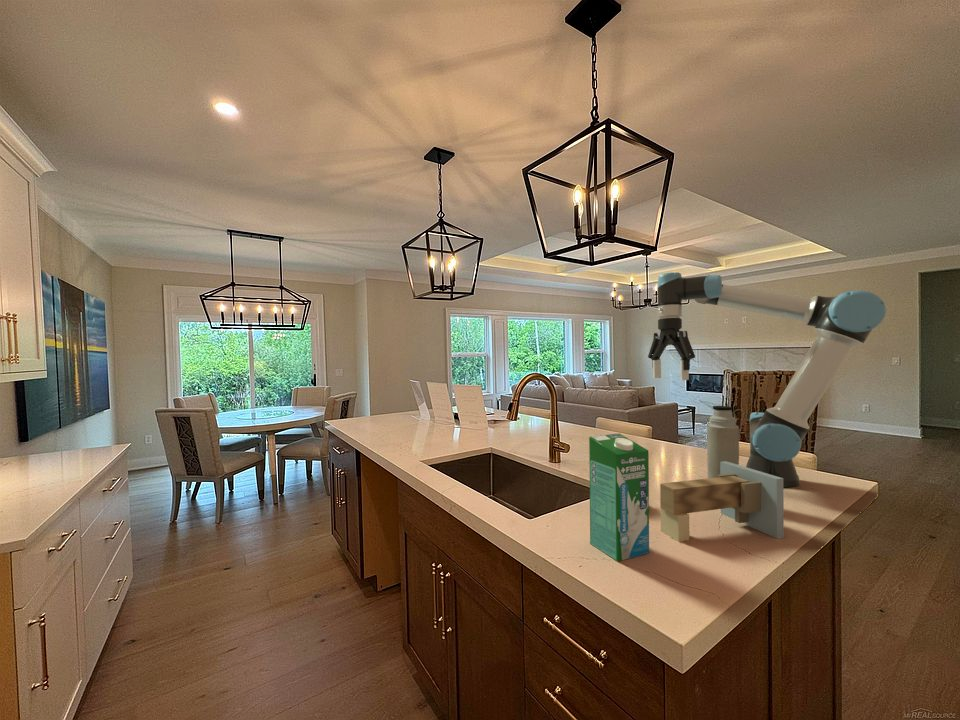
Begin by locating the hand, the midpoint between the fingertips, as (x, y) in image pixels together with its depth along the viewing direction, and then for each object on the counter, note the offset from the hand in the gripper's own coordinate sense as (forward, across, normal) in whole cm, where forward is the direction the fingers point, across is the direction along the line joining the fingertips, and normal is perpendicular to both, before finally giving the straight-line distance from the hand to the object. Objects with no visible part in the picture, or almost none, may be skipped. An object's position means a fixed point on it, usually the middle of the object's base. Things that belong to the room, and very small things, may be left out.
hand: (670, 379), depth 141 cm
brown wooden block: (+29, +38, -22) cm, 52 cm away
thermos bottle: (+35, +23, -1) cm, 42 cm away
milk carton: (+35, +40, -47) cm, 71 cm away
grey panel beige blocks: (+35, +38, -20) cm, 55 cm away
